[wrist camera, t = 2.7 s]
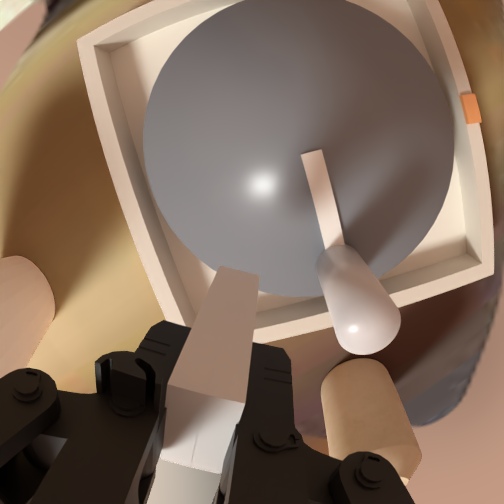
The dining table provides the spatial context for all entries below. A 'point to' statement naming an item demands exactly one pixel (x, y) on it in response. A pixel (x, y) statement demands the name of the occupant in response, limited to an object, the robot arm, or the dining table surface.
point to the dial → (302, 153)
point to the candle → (368, 415)
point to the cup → (22, 311)
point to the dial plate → (197, 272)
